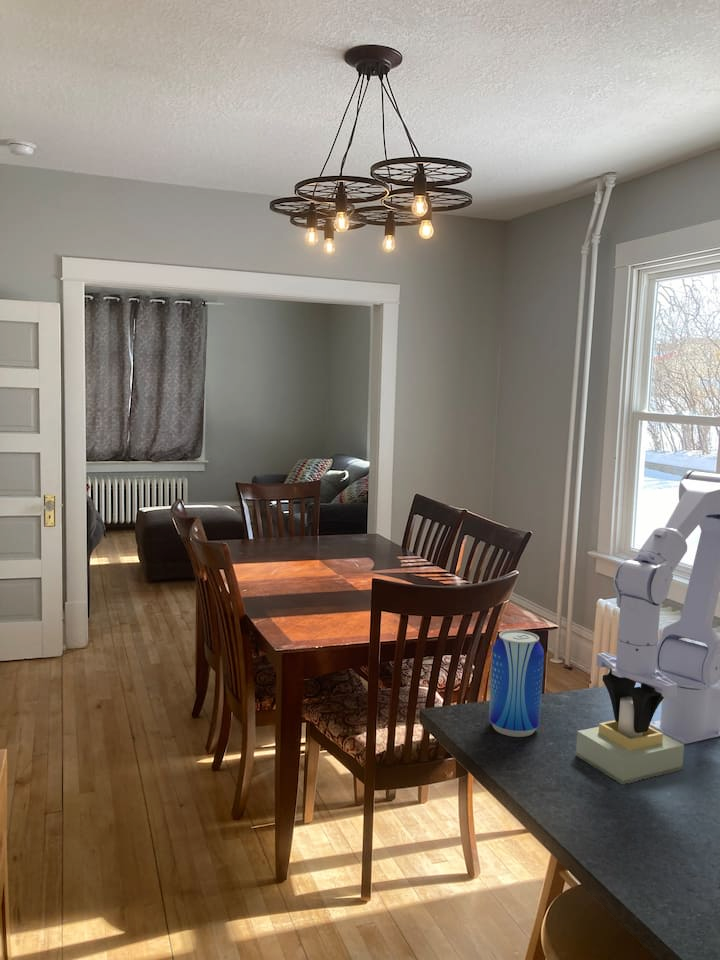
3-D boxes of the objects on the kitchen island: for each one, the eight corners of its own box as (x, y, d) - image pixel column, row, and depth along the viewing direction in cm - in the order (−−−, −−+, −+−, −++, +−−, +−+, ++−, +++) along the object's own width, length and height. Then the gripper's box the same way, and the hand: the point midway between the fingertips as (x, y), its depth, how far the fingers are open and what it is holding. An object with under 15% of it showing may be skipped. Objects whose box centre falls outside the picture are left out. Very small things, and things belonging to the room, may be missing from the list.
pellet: (629, 728, 126) (632, 695, 125) (647, 738, 122) (650, 703, 122) (612, 733, 124) (615, 698, 123) (630, 742, 121) (633, 707, 120)
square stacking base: (633, 742, 131) (635, 710, 130) (682, 769, 122) (685, 735, 121) (575, 755, 126) (578, 721, 125) (622, 784, 117) (624, 748, 116)
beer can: (539, 741, 130) (545, 646, 128) (487, 735, 132) (492, 641, 130) (538, 720, 138) (544, 630, 136) (489, 715, 140) (494, 626, 138)
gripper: (584, 629, 126) (578, 711, 128) (654, 658, 113) (647, 750, 115) (618, 624, 129) (612, 705, 131) (690, 652, 116) (682, 742, 118)
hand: (630, 725), depth 123 cm, fingers closed on pellet, 3 cm apart
